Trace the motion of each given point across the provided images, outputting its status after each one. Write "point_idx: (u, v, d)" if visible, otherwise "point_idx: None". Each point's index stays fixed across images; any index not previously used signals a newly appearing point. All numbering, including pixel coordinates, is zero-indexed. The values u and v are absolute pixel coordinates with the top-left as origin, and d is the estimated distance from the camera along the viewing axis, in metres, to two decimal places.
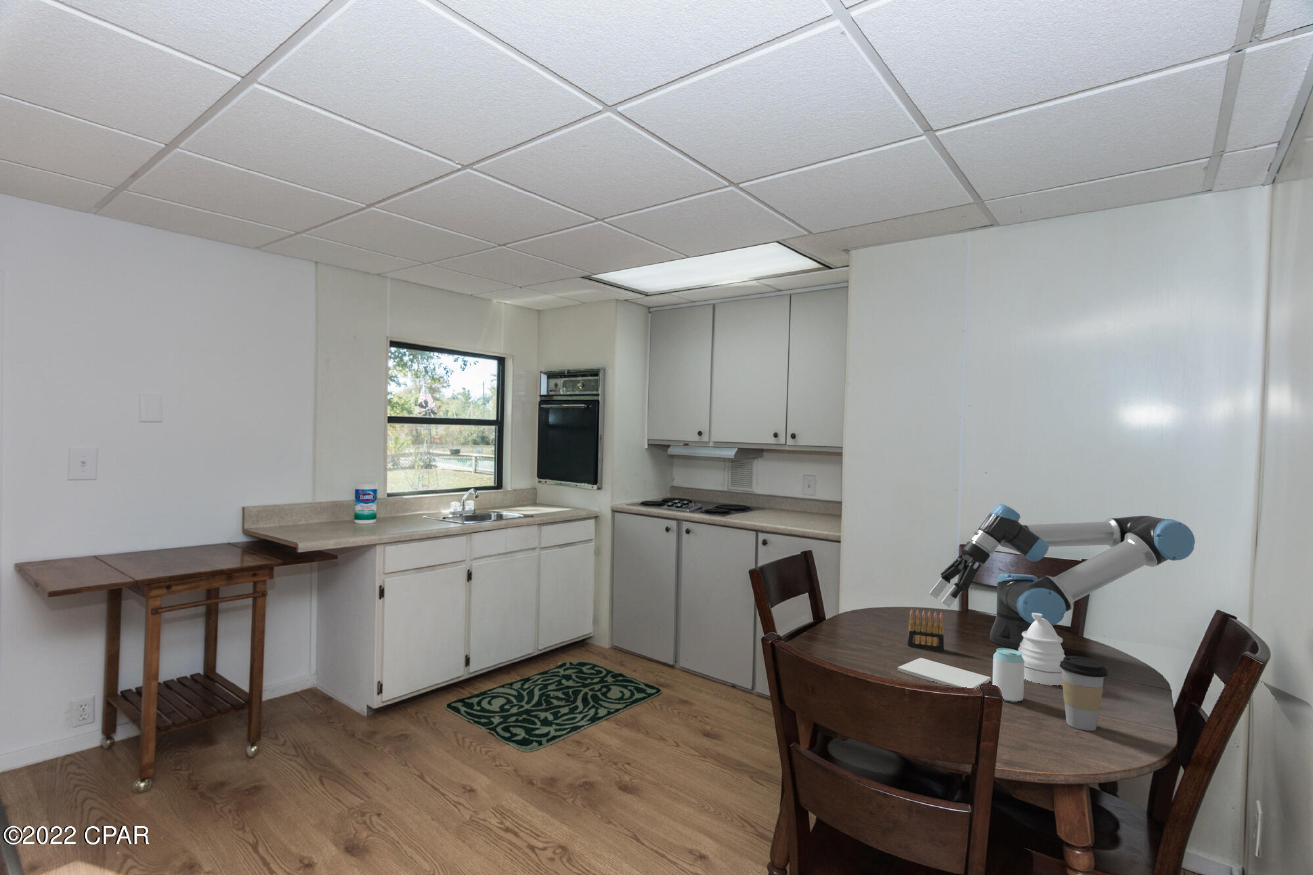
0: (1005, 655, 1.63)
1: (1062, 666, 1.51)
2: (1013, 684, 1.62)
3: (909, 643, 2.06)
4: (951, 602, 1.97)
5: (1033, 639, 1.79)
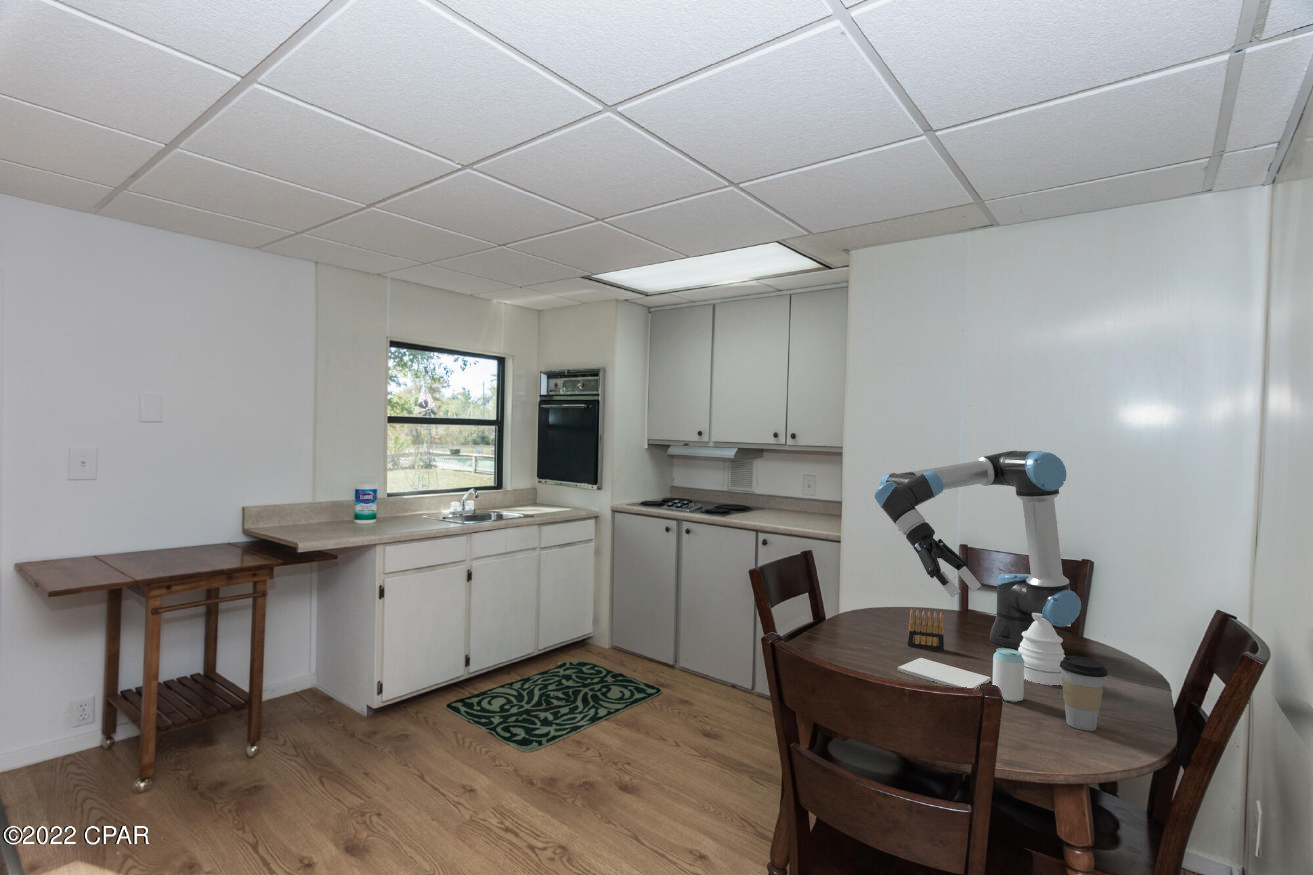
0: (1005, 655, 1.63)
1: (1062, 666, 1.51)
2: (1013, 684, 1.62)
3: (909, 643, 2.06)
4: (953, 587, 1.69)
5: (1033, 639, 1.79)
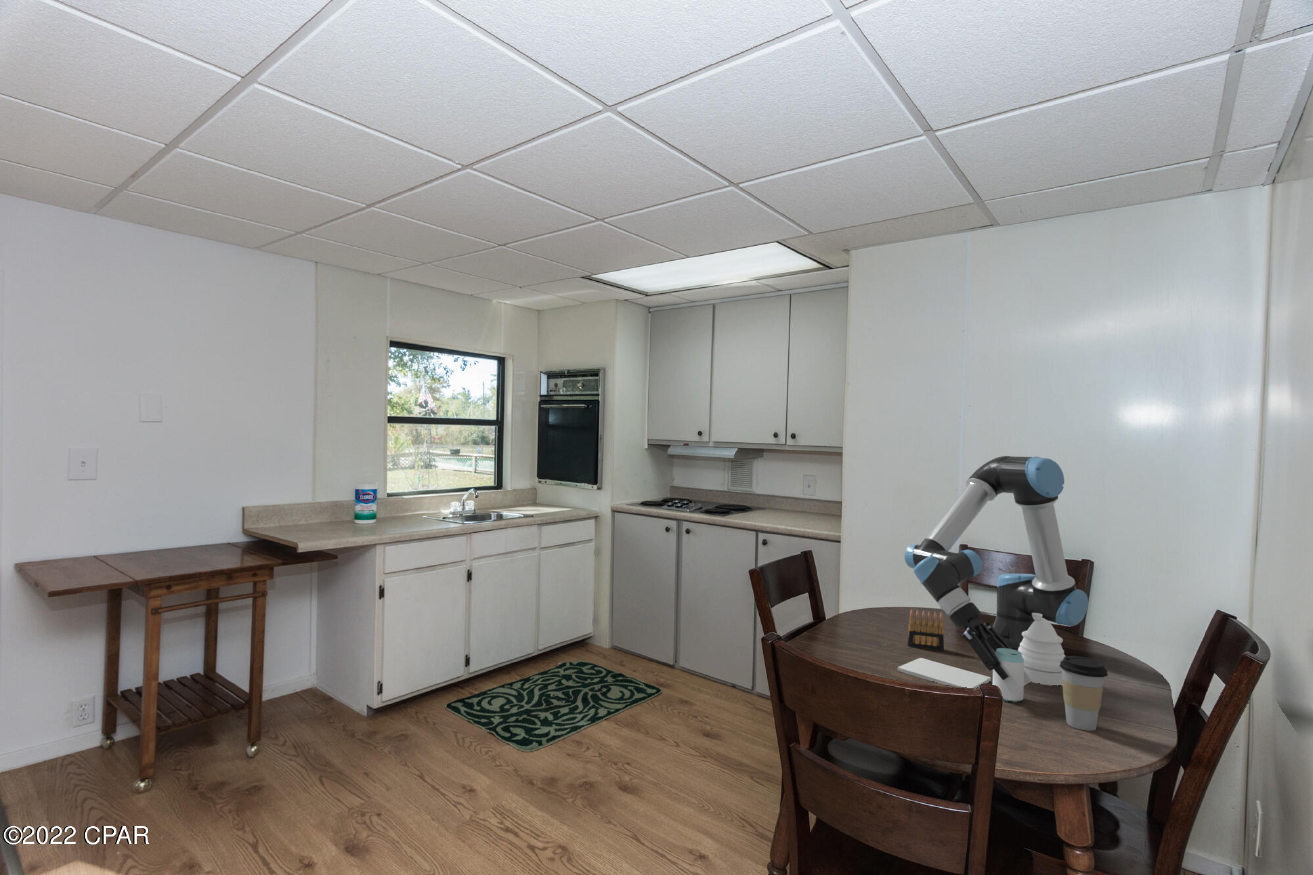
0: (1005, 655, 1.63)
1: (1062, 666, 1.51)
2: None
3: (909, 643, 2.06)
4: (1014, 682, 1.60)
5: (1033, 639, 1.79)
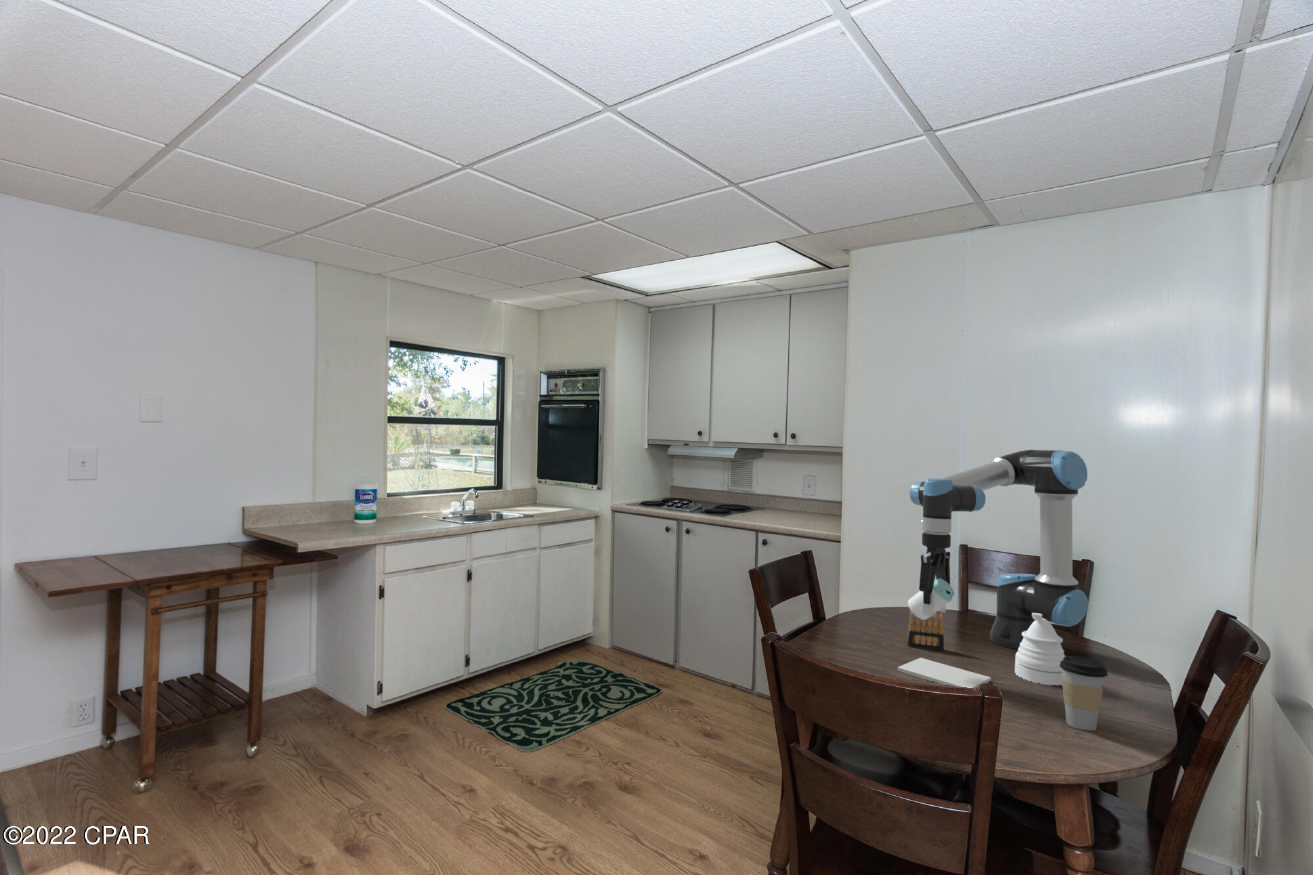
0: (940, 589, 1.78)
1: (1062, 666, 1.51)
2: None
3: (909, 643, 2.06)
4: (930, 609, 1.79)
5: (1033, 639, 1.79)
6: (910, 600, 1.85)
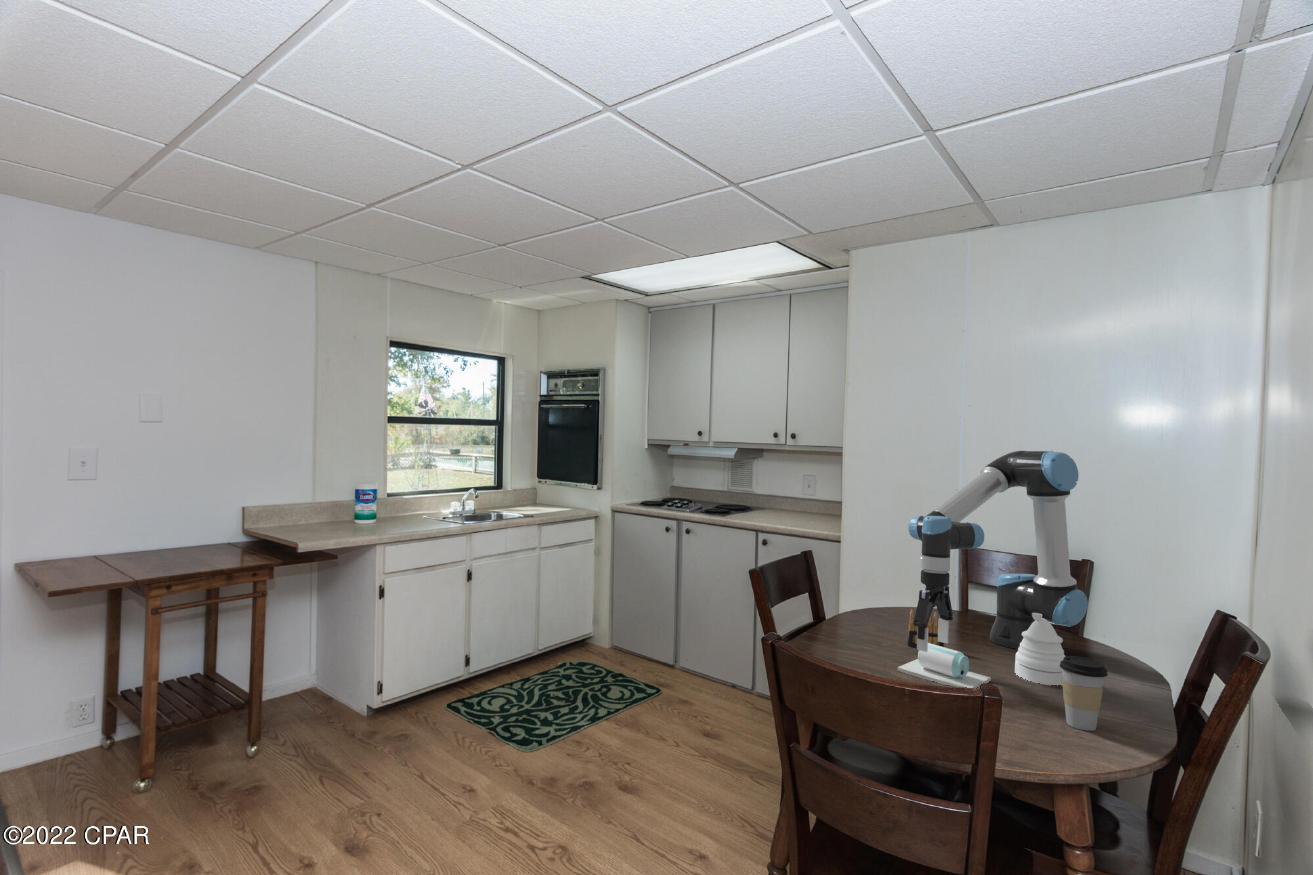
0: (957, 670, 1.73)
1: (1062, 666, 1.51)
2: (933, 669, 1.79)
3: (909, 643, 2.06)
4: (924, 645, 1.77)
5: (1033, 639, 1.79)
6: None
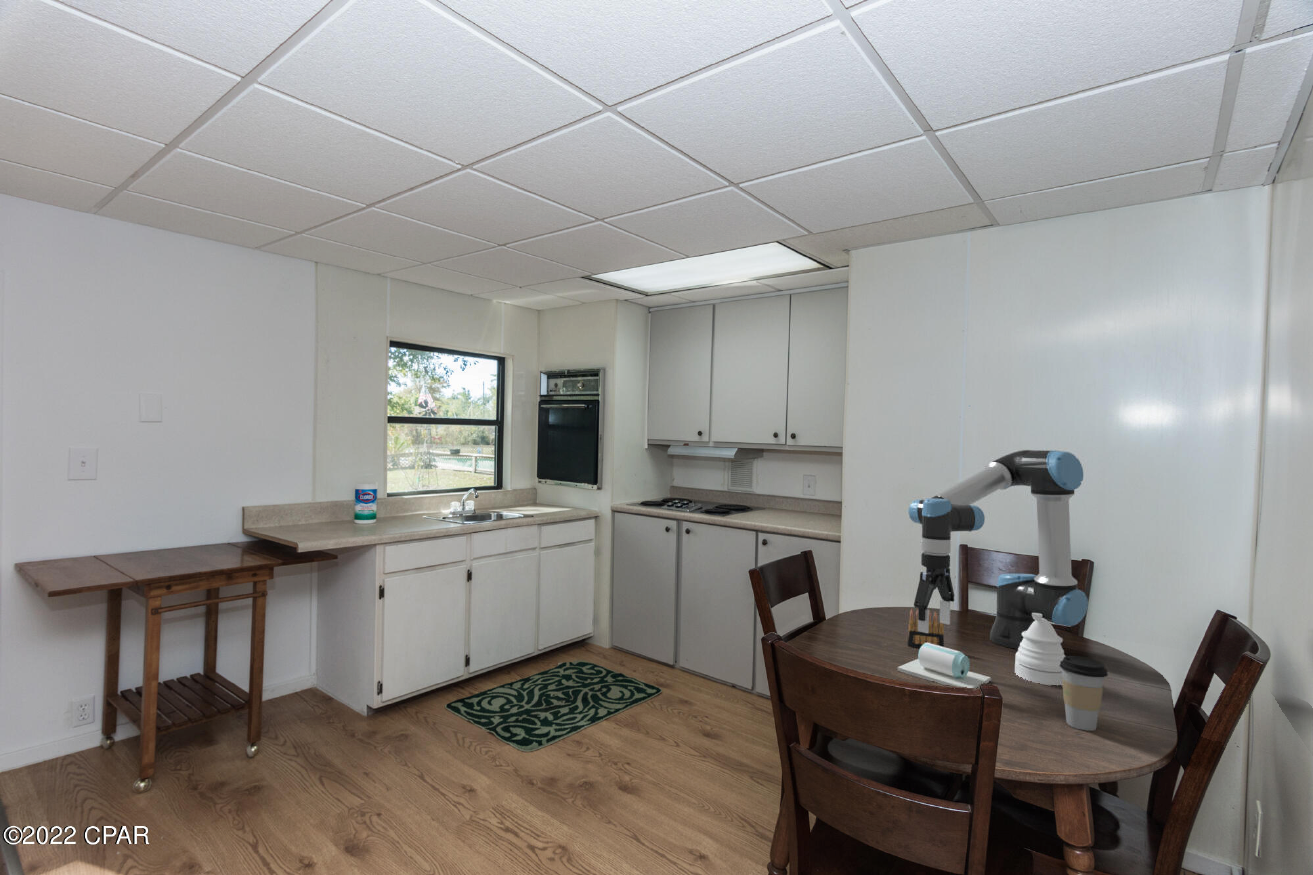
0: (957, 669, 1.73)
1: (1062, 666, 1.51)
2: (934, 668, 1.79)
3: (909, 643, 2.06)
4: (925, 626, 1.77)
5: (1033, 639, 1.79)
6: (924, 648, 1.81)
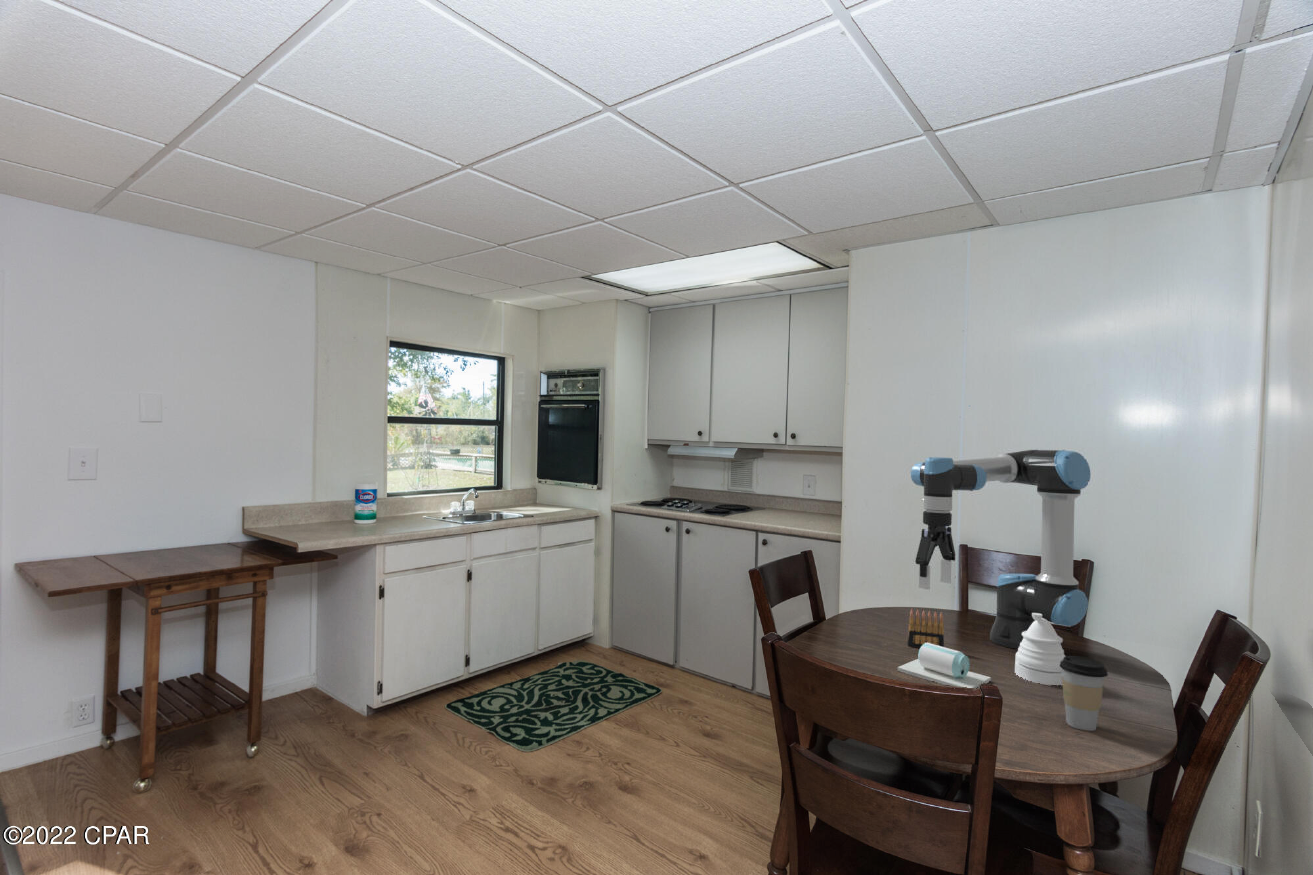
0: (957, 669, 1.73)
1: (1062, 666, 1.51)
2: (934, 668, 1.79)
3: (909, 643, 2.06)
4: (926, 582, 1.78)
5: (1033, 639, 1.79)
6: (924, 648, 1.81)
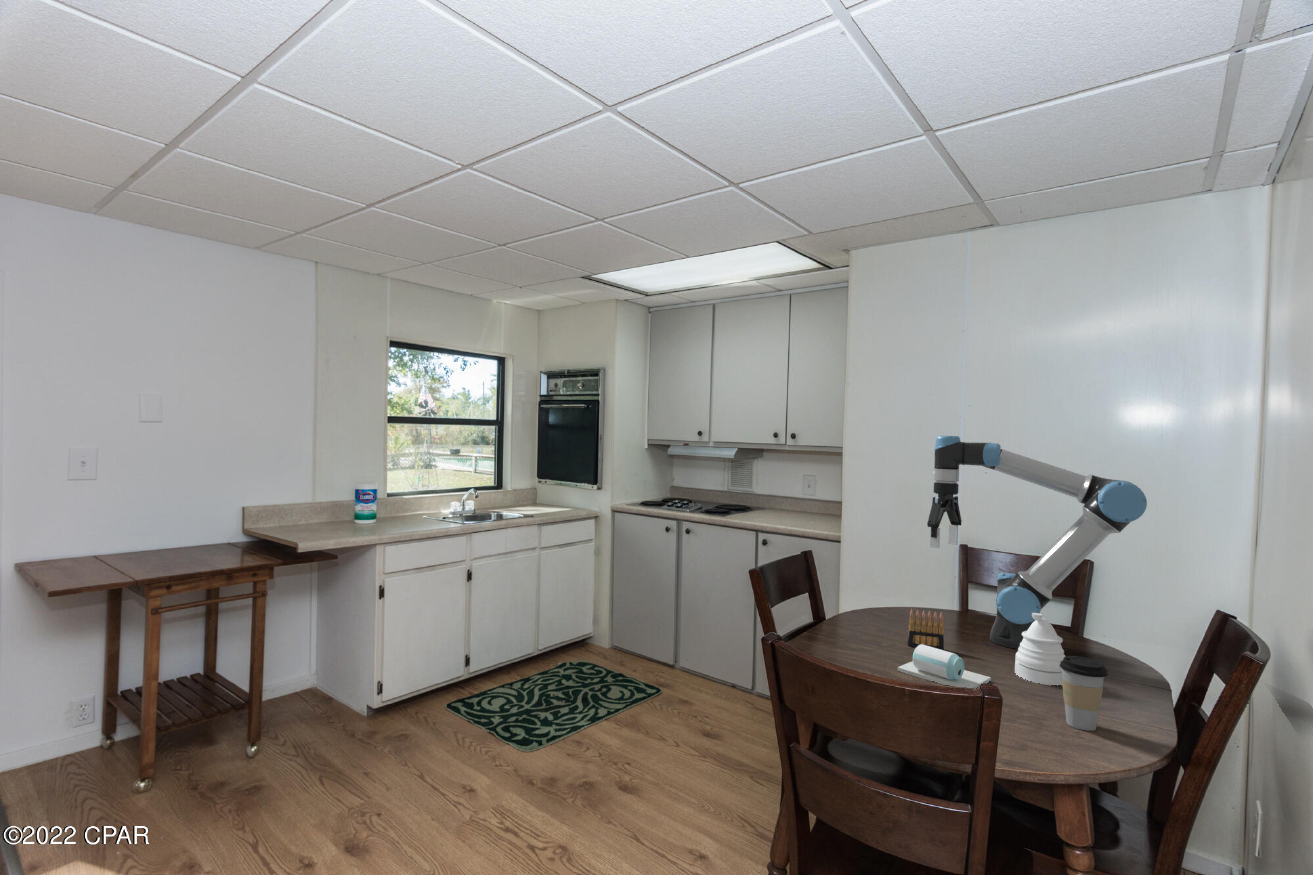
0: (954, 678, 1.72)
1: (1062, 666, 1.51)
2: None
3: (909, 643, 2.06)
4: (937, 542, 2.07)
5: (1033, 639, 1.79)
6: (916, 660, 1.79)
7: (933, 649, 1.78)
